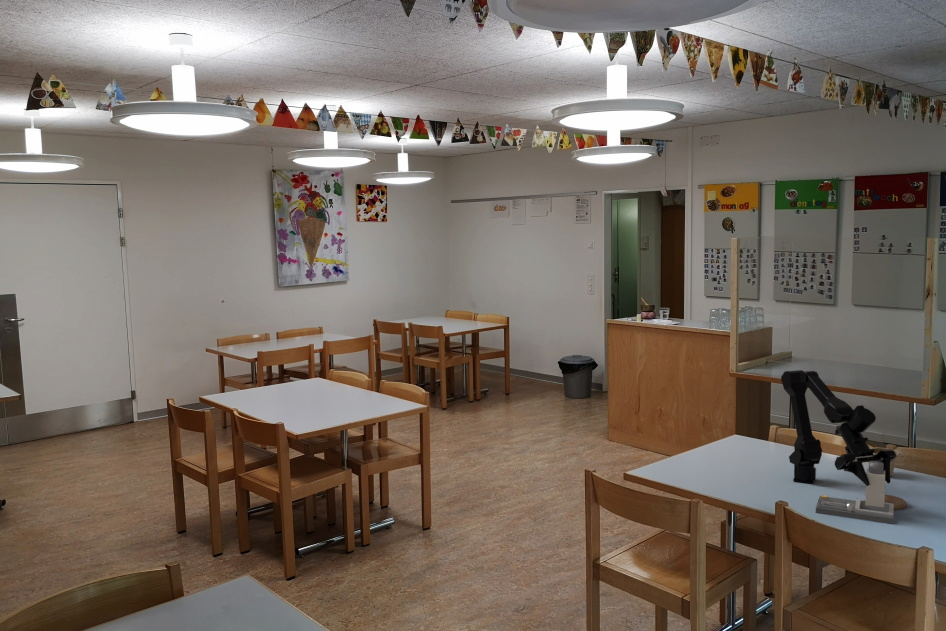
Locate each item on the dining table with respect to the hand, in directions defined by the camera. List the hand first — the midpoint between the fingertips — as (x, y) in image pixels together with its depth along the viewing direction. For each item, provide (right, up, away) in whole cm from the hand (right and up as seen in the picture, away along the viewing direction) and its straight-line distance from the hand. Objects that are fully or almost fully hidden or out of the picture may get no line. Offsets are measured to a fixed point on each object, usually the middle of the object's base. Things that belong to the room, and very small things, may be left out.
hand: (878, 484), depth 228 cm
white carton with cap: (0, -6, +2) cm, 7 cm away
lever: (-11, -10, +4) cm, 16 cm away
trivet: (+9, -9, +11) cm, 17 cm away
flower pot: (+23, -6, +39) cm, 45 cm away
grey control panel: (-5, -10, +5) cm, 12 cm away
